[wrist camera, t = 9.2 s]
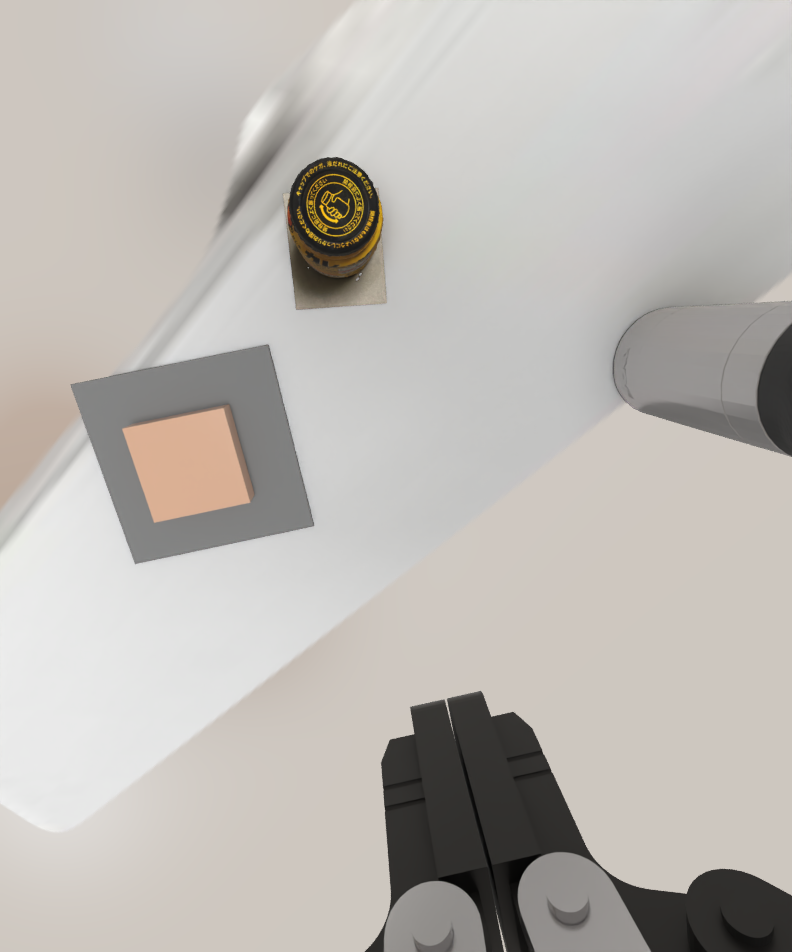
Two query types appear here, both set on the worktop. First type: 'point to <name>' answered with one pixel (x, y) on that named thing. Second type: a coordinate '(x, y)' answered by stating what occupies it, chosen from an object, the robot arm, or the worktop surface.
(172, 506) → the tile
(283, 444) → the mat
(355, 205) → the condiment
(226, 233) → the worktop surface
